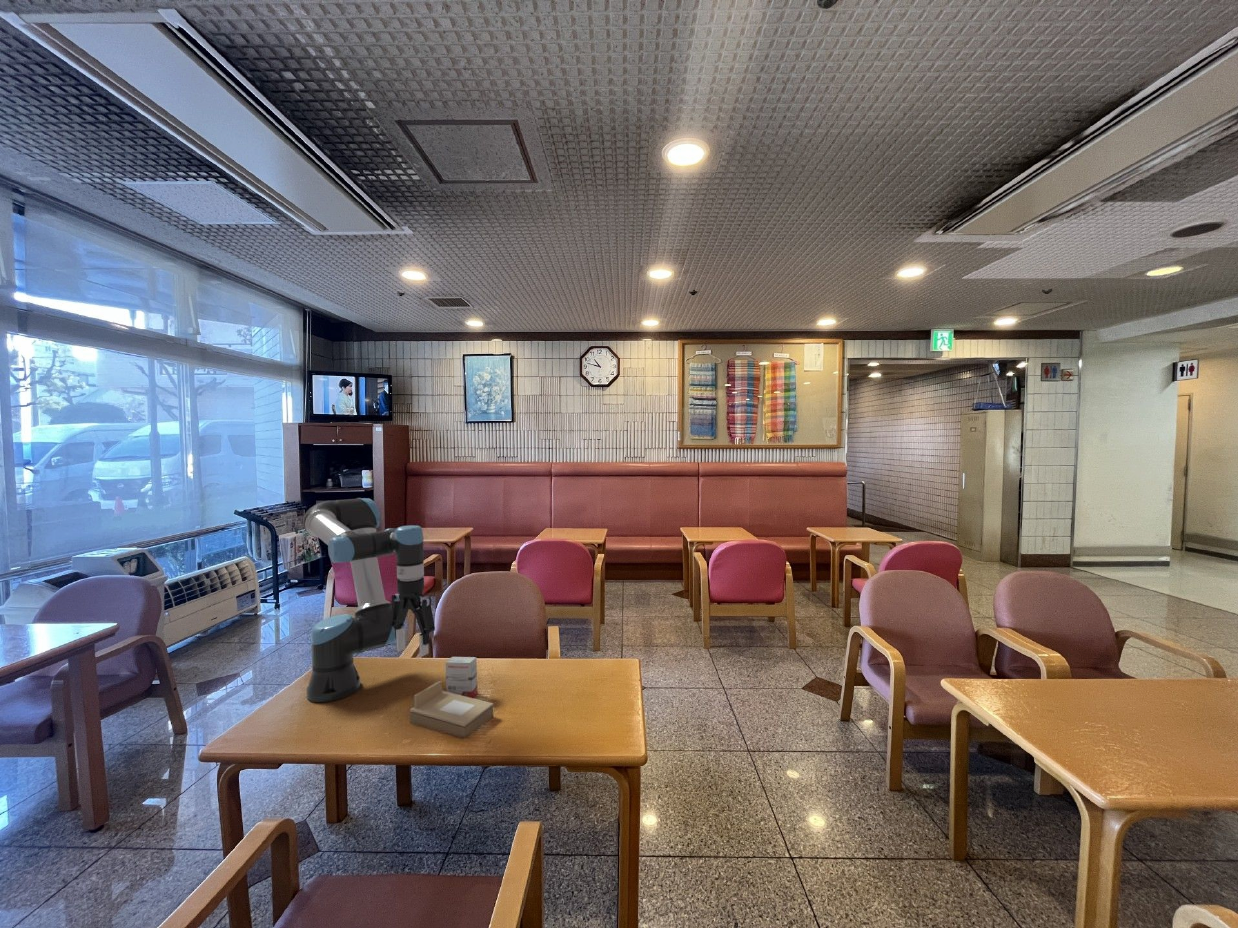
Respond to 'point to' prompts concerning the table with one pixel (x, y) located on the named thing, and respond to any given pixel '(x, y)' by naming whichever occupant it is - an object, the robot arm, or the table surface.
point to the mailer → (451, 724)
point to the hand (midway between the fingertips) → (412, 652)
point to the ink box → (462, 676)
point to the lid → (448, 705)
